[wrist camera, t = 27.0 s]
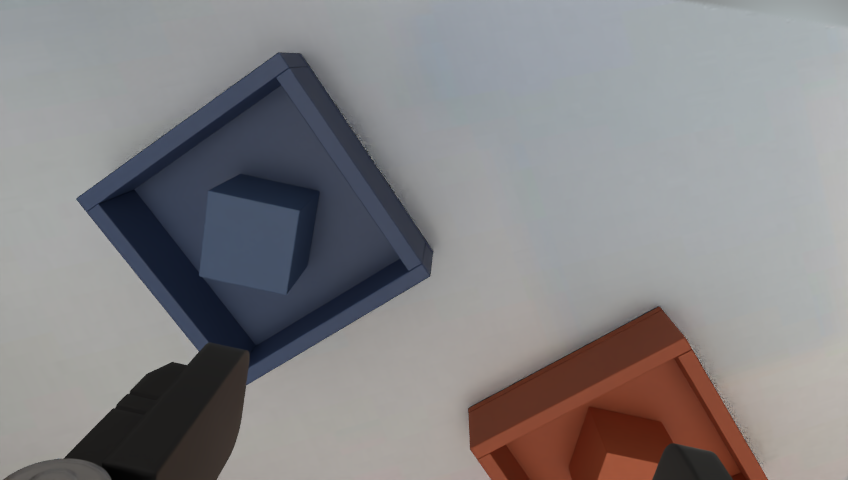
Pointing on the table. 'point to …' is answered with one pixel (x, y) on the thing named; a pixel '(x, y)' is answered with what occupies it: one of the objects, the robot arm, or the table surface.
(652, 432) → the terracotta block
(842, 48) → the table surface
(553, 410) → the terracotta bin
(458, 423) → the table surface
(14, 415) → the table surface
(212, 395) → the robot arm
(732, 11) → the table surface
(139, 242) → the slate bin
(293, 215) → the slate block
